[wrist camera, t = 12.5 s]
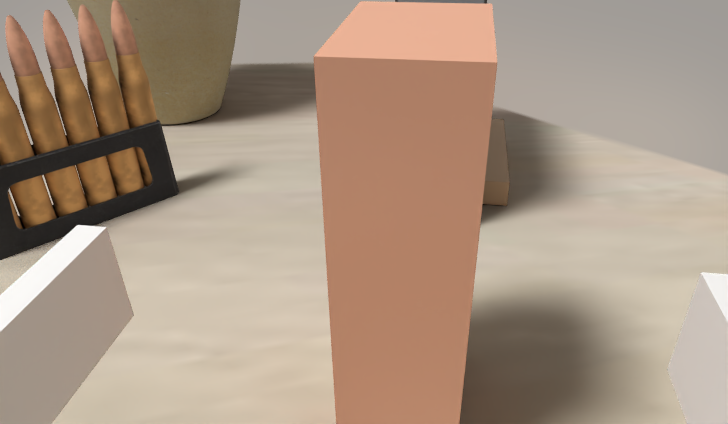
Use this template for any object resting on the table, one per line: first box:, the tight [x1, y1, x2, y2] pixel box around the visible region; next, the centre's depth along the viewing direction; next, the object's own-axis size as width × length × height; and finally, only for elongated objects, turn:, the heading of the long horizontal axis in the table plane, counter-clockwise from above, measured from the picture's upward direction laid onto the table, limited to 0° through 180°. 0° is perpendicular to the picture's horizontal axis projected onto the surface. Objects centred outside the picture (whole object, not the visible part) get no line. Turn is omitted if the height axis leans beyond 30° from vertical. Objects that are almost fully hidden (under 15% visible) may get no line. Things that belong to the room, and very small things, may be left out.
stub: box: [314, 1, 497, 424], centre depth 19 cm, size 6×4×14 cm, turn 170°
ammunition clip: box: [0, 0, 179, 260], centre depth 31 cm, size 11×2×12 cm, turn 132°
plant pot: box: [67, 0, 240, 124], centre depth 46 cm, size 15×15×16 cm
